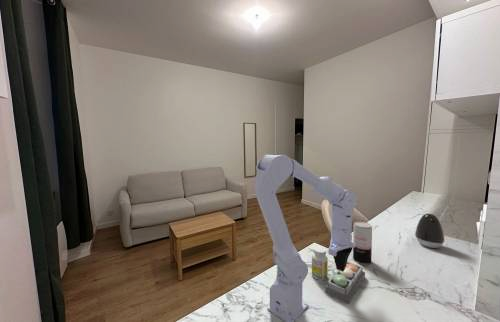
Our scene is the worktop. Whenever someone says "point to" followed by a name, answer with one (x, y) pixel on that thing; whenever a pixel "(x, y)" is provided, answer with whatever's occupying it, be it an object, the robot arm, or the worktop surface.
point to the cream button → (347, 273)
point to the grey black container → (362, 242)
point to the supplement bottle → (319, 263)
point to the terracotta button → (352, 267)
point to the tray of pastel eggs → (351, 288)
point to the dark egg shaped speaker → (429, 231)
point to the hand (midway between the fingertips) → (340, 269)
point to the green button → (340, 280)
